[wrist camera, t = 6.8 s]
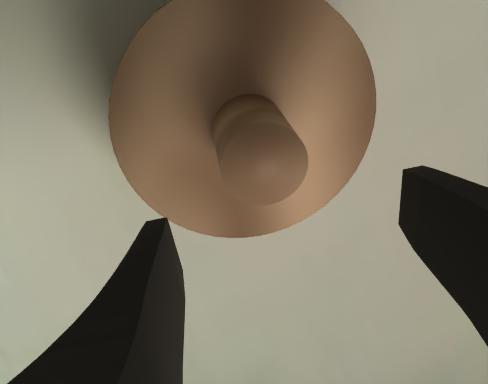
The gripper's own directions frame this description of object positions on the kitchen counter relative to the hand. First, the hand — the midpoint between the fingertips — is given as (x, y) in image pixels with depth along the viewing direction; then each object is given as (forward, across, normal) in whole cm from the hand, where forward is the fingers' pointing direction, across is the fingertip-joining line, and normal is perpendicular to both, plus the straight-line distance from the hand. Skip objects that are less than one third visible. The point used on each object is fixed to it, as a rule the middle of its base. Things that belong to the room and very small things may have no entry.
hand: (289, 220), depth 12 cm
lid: (+6, 0, -1) cm, 6 cm away
